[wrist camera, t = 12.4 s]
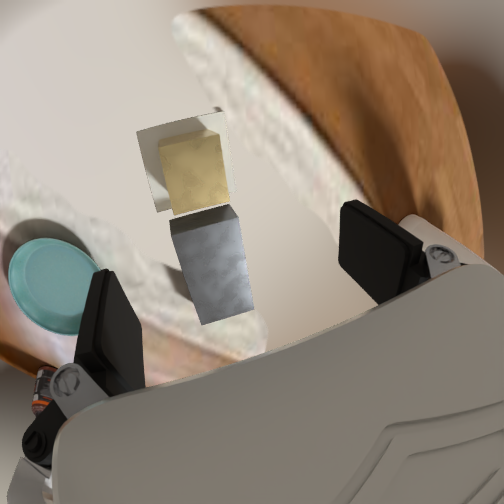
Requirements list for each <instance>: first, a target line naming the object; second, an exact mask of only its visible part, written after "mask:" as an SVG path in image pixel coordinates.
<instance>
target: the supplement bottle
mask: <svg viewBox="0 0 504 504" xmlns="http://www.w3.org/2000/svg"><path fill="white" fill-rule="evenodd" d="M56 371H57V369H55V368H52V367H48V366H44V367H41V368H39V370H38V373H37V378H36V383H35V389H34V396H33V401H32V411H33V413H34V414H35V415H36V418H37V417H38V416H39V414H40V413H41V412H42V411H43V410H44V409H45V407H46V406H47V405H48V404H49V403H50V402H51V400H52V399H53V397H52V395H51V392H50V382H51V378H52V376H53V374H54V373H55V372H56Z"/></svg>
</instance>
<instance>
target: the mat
mask: <svg viewBox="0 0 504 504" xmlns="http://www.w3.org/2000/svg"><path fill="white" fill-rule="evenodd" d="M204 129H209V130H211V131H214V132H216V133H218V134H219V135H220V141H221V148H222V154H223V160H224V167H225V173H226V180H227V186H228V192H229V193H232V192H236V191H237V188H236V183H235V176H234V170H233V164H232V157H231V151H230V145H229V139H228V132H227V126H226V119H225V113H224V111H222V112H216V113H211V114H206V115H201V116H196V117H191V118H187V119H182V120H178V121H174V122H170V123H166V124H162V125H159V126H155V127H151V128H148V129H144V130H141V131H137V137H138V142H139V146H140V150H141V154H142V158H143V162H144V166H145V170H146V174H147V178H148V182H149V185H150V189H151V193H152V196H153V200H154V203H155V207H156V210H157V212H161V211H164V210H168V209H171V208H172V206H171V202H170V198H169V194H168V190H167V185H166V181H165V177H164V173H163V168H162V164H161V159H160V155H159V150H158V143H159V140H160V139H164V138H168V137H172V136H177V135H181V134H185V133H190V132H194V131H199V130H204Z"/></svg>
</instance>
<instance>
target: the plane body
mask: <svg viewBox="0 0 504 504" xmlns="http://www.w3.org/2000/svg"><path fill="white" fill-rule="evenodd" d="M169 222H170V230H171V237H172V240H173V244H174V247H175V250H176V253H177V256H178V259H179V262H180V265H181V269H182V272H183V274H184V277H185V280H186V283H187V286H188V289H189V292H190V295H191V298H192V300H193V303H194V306H195V309H196V311H197V314H198V317H199V319H200V322H201V325H205V324H208V323H211V322H215V321H218V320H221V319H225V318H228V317H231V316H235V315H238V314H241V313H244V312H247V311H250V310H253V309H254V305H253V299H252V293H251V288H250V282H249V276H248V270H247V264H246V259H245V253H244V247H243V241H242V235H241V229H240V223H239V217H238V216H237V215H236V213H235V212H234V210H233V209H232V207H231V206H230V205H229V204H227V205H223V206H219V207H216V208H212V209H208V210H204V211H200V212H197V213H193V214H189V215H186V216H182V217H179V218H175V219H172V220H169Z"/></svg>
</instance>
